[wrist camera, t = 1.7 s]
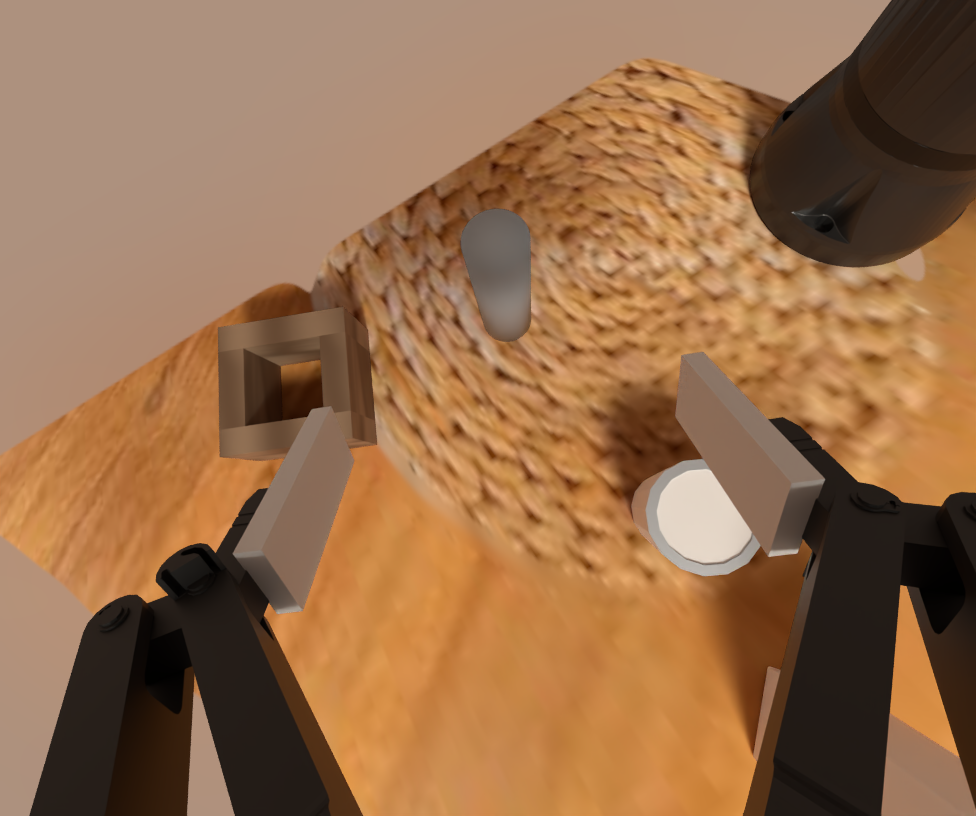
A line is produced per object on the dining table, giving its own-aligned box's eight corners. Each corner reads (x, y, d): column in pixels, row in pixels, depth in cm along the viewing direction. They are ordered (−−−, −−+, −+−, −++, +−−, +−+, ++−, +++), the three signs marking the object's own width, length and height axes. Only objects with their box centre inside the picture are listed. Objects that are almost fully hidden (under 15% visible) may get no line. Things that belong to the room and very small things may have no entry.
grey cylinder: (527, 292, 37) (524, 203, 25) (534, 337, 36) (535, 266, 25) (480, 300, 37) (456, 215, 26) (486, 345, 37) (465, 278, 25)
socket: (367, 329, 38) (343, 306, 33) (377, 444, 36) (352, 438, 31) (257, 347, 39) (218, 327, 34) (261, 461, 37) (219, 457, 32)
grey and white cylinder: (609, 479, 34) (629, 477, 27) (696, 452, 34) (739, 443, 27) (641, 569, 32) (670, 591, 26) (732, 542, 32) (786, 557, 25)
